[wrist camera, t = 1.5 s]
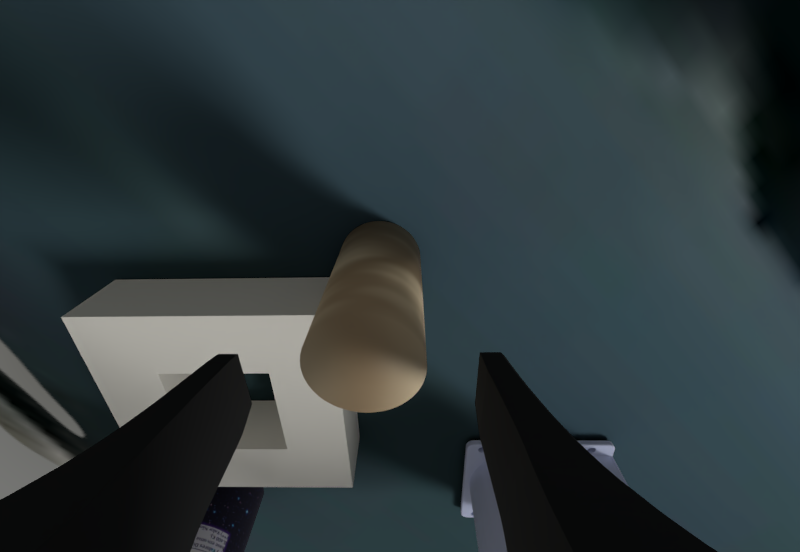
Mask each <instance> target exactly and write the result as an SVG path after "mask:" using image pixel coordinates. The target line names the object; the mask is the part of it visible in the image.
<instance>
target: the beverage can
mask: <svg viewBox="0 0 800 552" xmlns="http://www.w3.org/2000/svg"><path fill="white" fill-rule="evenodd" d="M263 494H264V489H263V487H218V488H217V490H216V492H215V495H214V497H213V499H212V501H211V503H210V505H209V507H208V509H207V511H206V514H205V516H204V518H203V521H202V523H201V525H200V528H199V530H198V532H197V535H196V538H195V541H194V543H193V546H192V549H191V551H190V552H244V551H245V548H246V545H247V542H248V539H249V536H250V533H251V530H252V527H253V524H254V521H255V518H256V515H257V512H258V509H259V507H260V504H261V501H262V498H263Z"/></svg>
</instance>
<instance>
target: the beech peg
mask: <svg viewBox="0 0 800 552" xmlns="http://www.w3.org/2000/svg"><path fill="white" fill-rule="evenodd" d="M300 368H301V371H302V375H303V377H304V379H305V381H306V382H307V384H308V386H309V387H310V388H311V389H312V390H313V391H314V392H315V393H316V394H317V395H318V396H319V397H320V398H322V399H323V400H325V401H326V402H328V403H330V404H332V405H334V406H336V407H339V408H342V409H345V410H349V411H354V412H363V413H372V412H381V411H386V410H390V409H392V408H395V407H398V406H400V405H402V404H404V403H405V402H407V401H408V400H410V399H411V398H412V397H413V396H414V395H415V394H416V393H417V392H418V391H419V389H420V388H421V386H422V384H423V382H424V380H425V377H426V373H427V358H426V342H425V326H424V310H423V293H422V277H421V261H420V251H419V248H418V245H417V243H416V241H415V239H414V238H413V237H412V235H411V234H410V233H409V232H408V231H406V230H405V229H404V228H402V227H400V226H398V225H396V224H394V223H390V222H386V221H373V222H368V223H365V224H362V225H360V226H358V227H357V228H355V229H354V230H353V231H352V232H350V234H349V235H348V236H347V237H346V239H345V241H344V243H343V245H342V248H341V250H340V253H339V255H338V258H337V260H336V263H335V265H334V268H333V270H332V273H331V275H330V278H329V280H328V283H327V286H326V288H325V291H324V293H323V296H322V298H321V301H320V303H319V306H318V308H317V311H316V313H315V316H314V318H313V321H312V323H311V326H310V328H309V331H308V333H307V336H306V339H305V341H304V344H303V346H302V349H301V353H300Z"/></svg>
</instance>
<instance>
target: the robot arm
mask: <svg viewBox="0 0 800 552" xmlns="http://www.w3.org/2000/svg"><path fill="white" fill-rule="evenodd" d="M251 406H252V402H251V398H250V395H249V391H248V388H247V384H246V381H245V377H244V374H243V370H242V367H241V363H240V360H239V356H238V354H217V355H216V356H214V357H213V358H212V359H210V360H209V361H208V362H206V363H205V364H204V365H202V366H201V367H200V368H198V369H197V370H196V371H195V372H193V373H192V374H191V375H189V376H188V377H187V378H186V379H184V380H183V381H182V382H181V383H179V384H178V385H177V386H175V387H174V388H173V389H172V390H170V391H169V392H168V393H166V394H165V395H164V396H162V397H161V398H160V399H159V400H157V401H156V402H155V403H153V404H152V405H151V406H149V407H148V408H146V409H145V410H144V411H142V412H141V413H140V414H138V415H137V416H135V417H134V418H133V419H131V420H130V421H128V422H127V423H126V424H124V425H123V426H121V427H120V428H119V429H117V430H116V431H115V432H113V433H112V434H110V435H109V436H107V437H106V438H104V439H103V440H101V441H100V442H98V443H97V444H95V445H94V446H92V447H90V448H89V449H87V450H86V451H84V452H82V453H81V454H79V455H78V456H76V457H74V458H73V459H71V460H70V461H68V462H66V463H65V464H63V465H61V466H60V467H58V468H56V469H55V470H53V471H51V472H49V473H48V474H46V475H44V476H42V477H41V478H39V479H37V480H35V481H34V482H32V483H30V484H28V485H26V486H25V487H23V488H21V489H19V490H17V491H16V492H14V493H12V494H10V495H9V496H7V497H5V498H3V499H1V500H0V552H190V551H191V549H192V546H193V543H194V541H195V538H196V535H197V532H198V530H199V528H200V525H201V523H202V521H203V518H204V516H205V514H206V511H207V509H208V507H209V505H210V503H211V501H212V499H213V497H214V495H215V492H216V490H217V488H218V486H219V484H220V482H221V480H222V478H223V476H224V473H225V471H226V469H227V467H228V465H229V463H230V461H231V459H232V456H233V454H234V452H235V450H236V448H237V446H238V443H239V441H240V439H241V437H242V434H243V431H244V428H245V425H246V422H247V419H248V416H249V412H250V409H251ZM475 406H476V414H477V421H478V428H479V435H480V439H481V440H471V441H469V442H468V443H467V444H466V449H465V461H464V473H463V485H462V496H461V508H460V509H461V515H462V516H464V517H474V523H475V529H476V536H477V543H478V550H479V552H717V551H716V550H714V549H713V548H711V547H709V546H708V545H707V544H705V543H704V542H702V541H701V540H699V539H698V538H696V537H695V536H694V535H692V534H691V533H689V532H688V531H687V530H685V529H684V528H682V527H681V526H680V525H678V524H677V523H675V522H674V521H673V520H671V519H670V518H668V517H667V516H666V515H664V514H663V513H662V512H660V511H659V510H658V509H656V508H655V507H654V506H653V505H651V504H650V503H649V502H647V501H646V500H645V499H644V498H642V497H641V496H640V495H639V494H637V493H636V492H635V491H634V490H632V489H631V488H630V487H629V486H628V484H627V483H626V481H625V479H624V477H623V475H622V473H621V471H620V469H619V468H618V466H617V464H616V462H615V460H614V458H613V457H612V456H613V453H614V451H615V447H614V445H613V444H612V442H610V441H606V440H576V439H575V438H574V437H573V436H572V435H571V434H570V433H569V432H568V431H567V430H566V429H565V428H564V427H563V426H562V425H561V424H560V423H559V422H558V421H557V419H556V418H555V417H554V416H553V415H552V414H551V413H550V412H549V411H548V410H547V408H546V407H545V406H544V405H543V404H542V403H541V401H540V400H539V399H538V398H537V397H536V396H535V394H534V393H533V392H532V391H531V390H530V388H529V387H528V386H527V385H526V384H525V382H524V381H523V380H522V378H521V377H520V376H519V375H518V373H517V372H516V371H515V369H514V368H513V367H512V366H511V364H510V363H509V361H508V360H507V359H506V357H505V356H504V355H503V354H502V353H501V352H485V353H480V357H479V367H478V378H477V388H476V399H475Z"/></svg>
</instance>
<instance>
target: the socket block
mask: <svg viewBox="0 0 800 552" xmlns="http://www.w3.org/2000/svg"><path fill="white" fill-rule="evenodd" d="M329 278H330V277H313V278H221V279H130V280H114V281H113V282H111V283H110V284H108V285H107V286H105V287H104V288H103V289H101V290H100V291H98V292H97V293H95V294H94V295H92V296H91V297H90V298H88V299H87V300H85V301H84V302H82V303H81V304H79V305H78V306H76V307H75V308H74V309H72V310H71V311H69V312H68V313H66V314H65V315H63V316H62V317H61V318H62V320H63V322H64V324H65V326H66V327H67V329H68V331H69V333H70V335H71V337H72V339H73V341H74V343H75V344H76V346H77V348H78V350H79V352H80V354H81V356H82V358H83V360H84V361H85V363H86V365H87V367H88V369H89V371H90V373H91V375H92V376H93V378H94V380H95V382H96V384H97V386H98V388H99V390H100V392H101V393H102V395H103V397H104V399H105V401H106V403H107V405H108V407H109V408H110V410H111V412H112V414H113V416H114V418H115V420H116V422H117V424H118V425H119V427H121V426H123V425H124V424H126V423H127V422H128V421H130V420H131V419H133V418H134V417H135V416H137V415H138V414H140V413H141V412H142V411H144V410H145V409H146V408H148V407H149V406H151V405H152V404H153V403H155V402H156V401H157V400H159V399H160V398H161V397H162V396H164V395H165V394H166V393H168V392H169V391H170V390H172V389H173V388H174V387H175V386H177V385H178V384H179V383H181V382H182V381H183V380H184V379H186V378H187V377H188V376H189V375H191V374H192V373H193V372H195V371H196V370H197V369H198V368H200V367H201V366H202V365H204V364H205V363H206V362H208V361H209V360H210V359H212V358H213V357H214V356H216V355H217V354H238V356H239V360H240V363H241V367H242V370H243V374H251V373H269V376H270V380H271V384H272V388H273V392H274V396H275V400H276V401H251V402H252V406H251V409H250V412H249V416H248V419H247V422H246V425H245V428H244V431H243V434H242V437H241V439H240V441H239V443H238V446H237V448H236V450H235V452H234V454H233V456H232V459H231V461H230V463H229V465H228V467H227V469H226V471H225V473H224V476H223V478H222V480H221V482H220V484H219V486H218V487H347V488H353V483H354V475H355V468H356V461H357V453H358V446H359V439H360V434H359V425H358V415H357V412H354V411H349V410H345V409H342V408H339V407H336V406H334V405H332V404H330V403H328V402H326V401H325V400H323V399H322V398H320V397H319V396H318V395H317V394H316V393H315V392H314V391H313V390H312V389H311V388H310V387H309V386H308V384H307V382H306V381H305V379H304V377H303V375H302V371H301V368H300V353H301V349H302V346H303V344H304V341H305V339H306V336H307V333H308V331H309V328H310V326H311V323H312V321H313V318H314V316H315V313H316V311H317V308H318V306H319V303H320V301H321V298H322V296H323V293H324V291H325V288H326V286H327V283H328V280H329Z"/></svg>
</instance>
